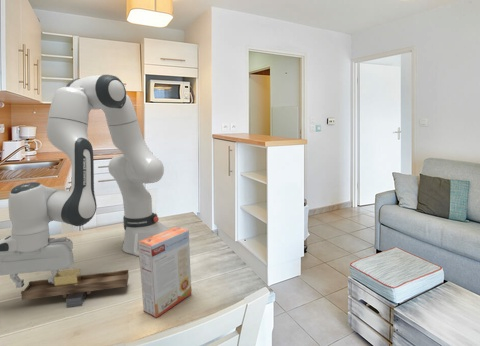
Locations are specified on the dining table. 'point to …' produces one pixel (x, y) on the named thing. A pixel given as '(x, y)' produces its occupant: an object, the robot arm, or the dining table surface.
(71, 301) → the fulcrum
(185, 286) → the cracker box
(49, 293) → the beam
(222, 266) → the dining table surface
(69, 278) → the rider
